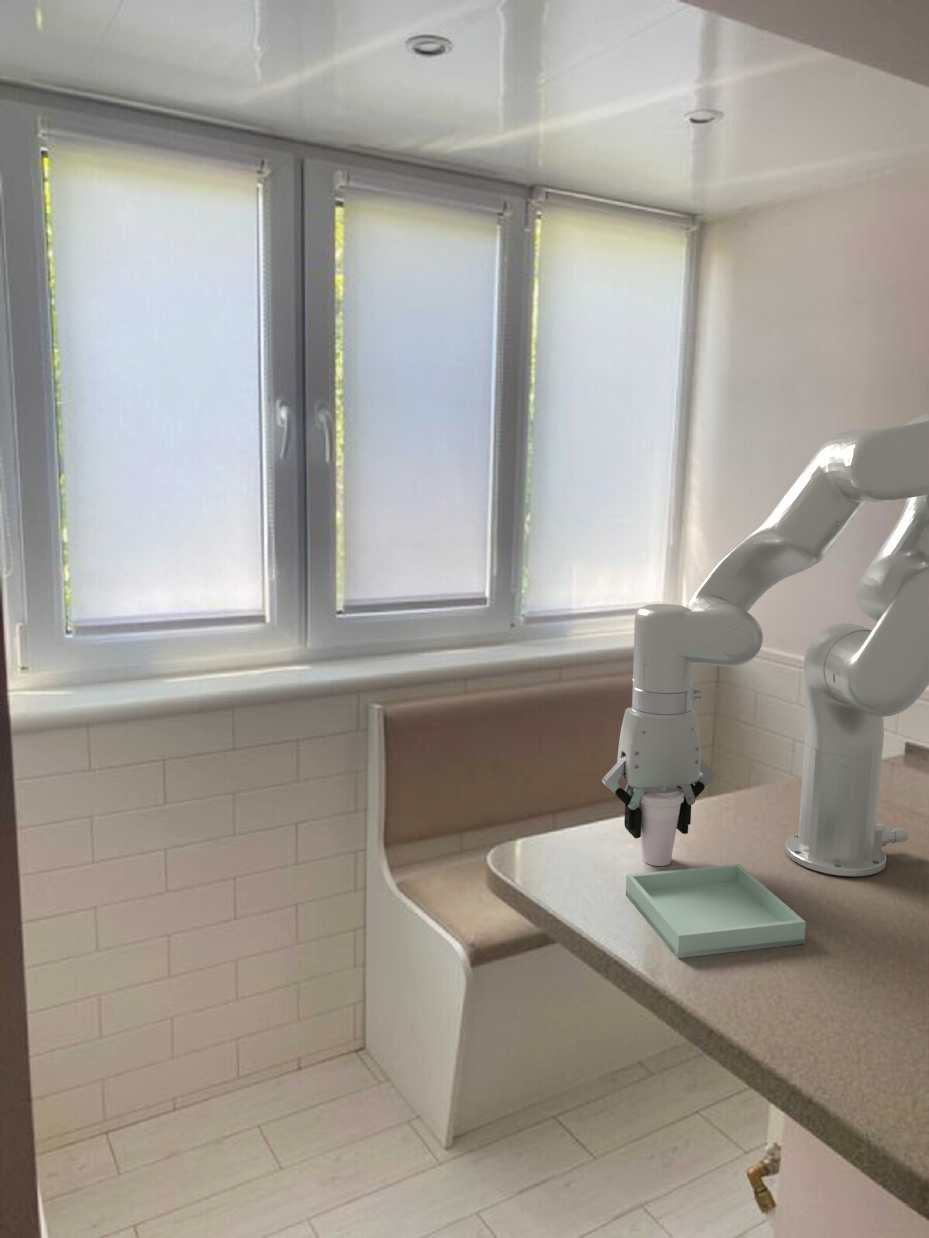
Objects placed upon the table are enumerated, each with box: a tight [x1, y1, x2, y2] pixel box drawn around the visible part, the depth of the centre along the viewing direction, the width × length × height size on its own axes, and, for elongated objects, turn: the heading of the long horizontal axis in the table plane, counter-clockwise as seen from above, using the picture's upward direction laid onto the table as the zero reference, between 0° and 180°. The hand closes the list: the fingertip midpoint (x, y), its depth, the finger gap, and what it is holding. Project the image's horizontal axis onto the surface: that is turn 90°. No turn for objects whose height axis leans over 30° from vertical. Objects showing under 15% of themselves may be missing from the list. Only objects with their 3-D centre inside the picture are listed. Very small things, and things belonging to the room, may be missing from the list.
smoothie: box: [638, 786, 684, 867], centre depth 123 cm, size 6×6×14 cm
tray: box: [625, 863, 807, 959], centre depth 109 cm, size 15×15×3 cm
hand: (657, 830), depth 123 cm, fingers closed on smoothie, 6 cm apart
